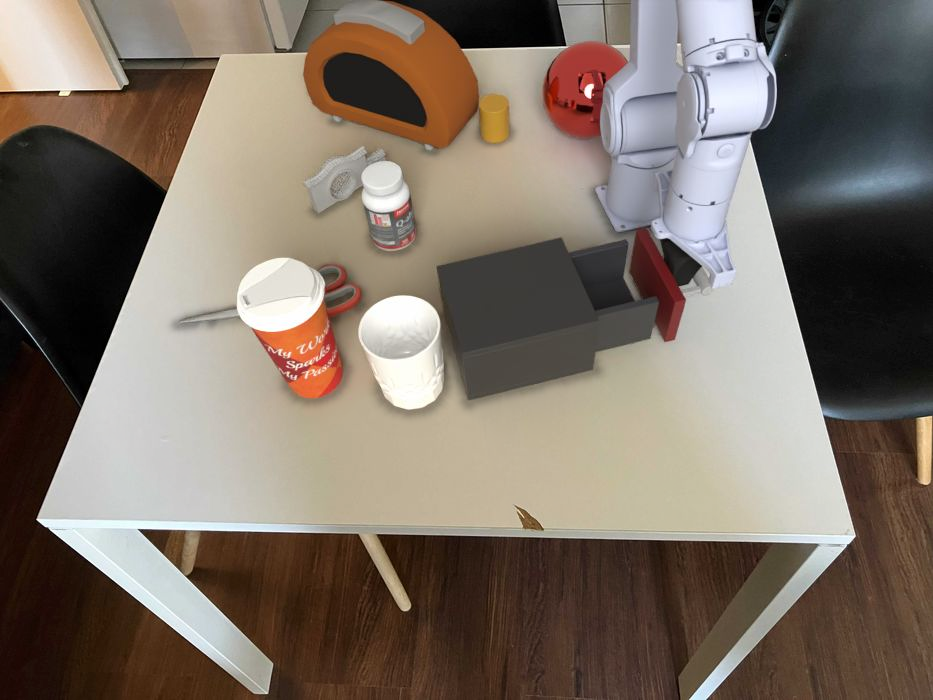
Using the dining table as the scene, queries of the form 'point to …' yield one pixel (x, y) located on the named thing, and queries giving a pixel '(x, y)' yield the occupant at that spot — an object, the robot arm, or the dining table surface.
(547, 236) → the dining table surface
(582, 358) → the dark drawer box
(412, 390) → the white cup
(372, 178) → the pill bottle
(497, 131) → the yellow cylinder
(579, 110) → the ball
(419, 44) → the alarm clock
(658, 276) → the drawer
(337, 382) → the coffee cup
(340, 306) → the scissors
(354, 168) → the lattice window wall
